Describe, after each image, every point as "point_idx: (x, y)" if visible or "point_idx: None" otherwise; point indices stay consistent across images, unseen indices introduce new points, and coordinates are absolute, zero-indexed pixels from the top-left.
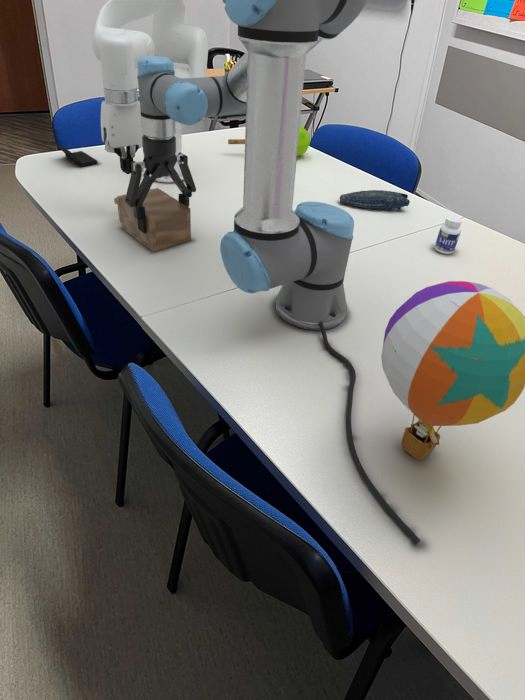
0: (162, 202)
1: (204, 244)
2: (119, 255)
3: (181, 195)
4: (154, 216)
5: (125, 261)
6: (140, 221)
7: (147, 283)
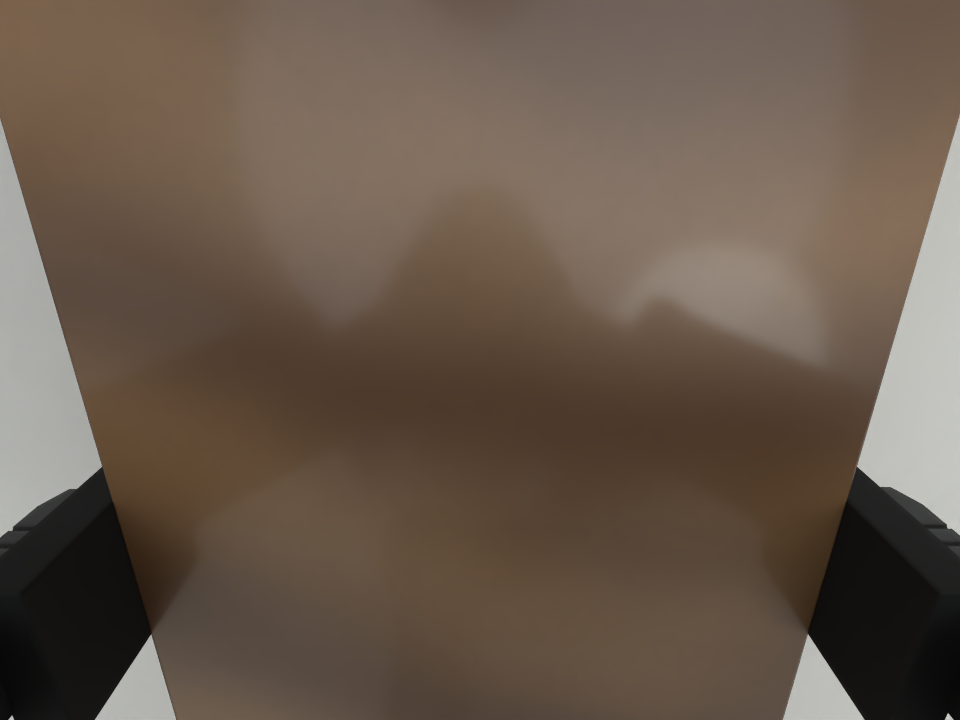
0: (594, 430)
1: None
2: (62, 391)
3: (923, 666)
4: (246, 712)
5: (82, 480)
6: None
7: (135, 713)
